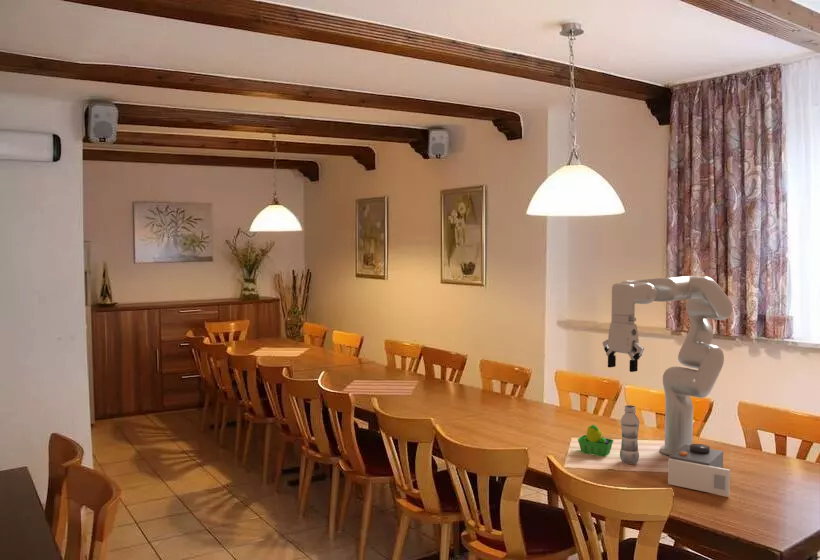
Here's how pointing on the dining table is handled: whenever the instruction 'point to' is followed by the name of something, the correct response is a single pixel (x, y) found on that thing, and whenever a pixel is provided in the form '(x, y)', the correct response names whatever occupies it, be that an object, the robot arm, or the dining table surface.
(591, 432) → the fruit basket
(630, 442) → the plastic bottle
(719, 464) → the grey block
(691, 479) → the door
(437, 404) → the dining table surface
